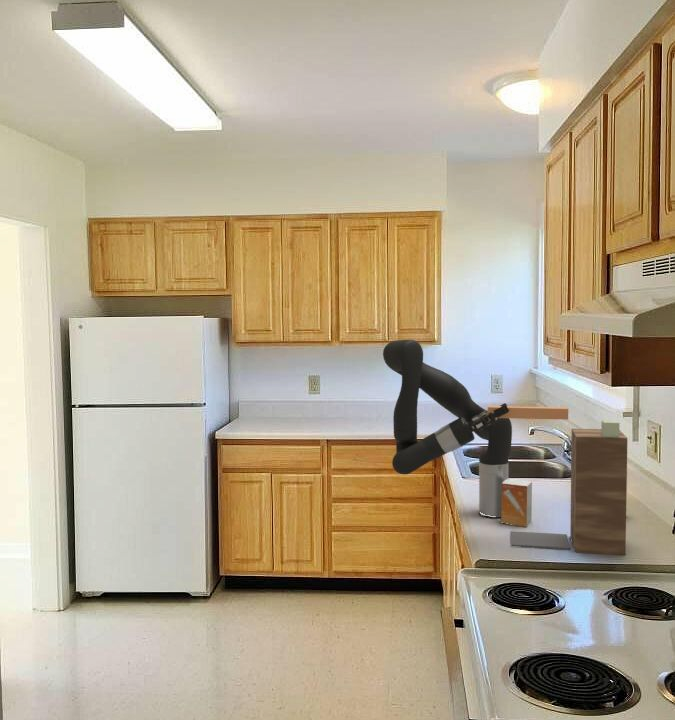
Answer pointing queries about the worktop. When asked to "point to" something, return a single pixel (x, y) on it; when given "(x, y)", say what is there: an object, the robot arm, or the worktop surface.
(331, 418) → the worktop surface
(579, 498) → the stand
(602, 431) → the sage block
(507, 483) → the small box
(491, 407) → the brown block
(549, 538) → the mat
